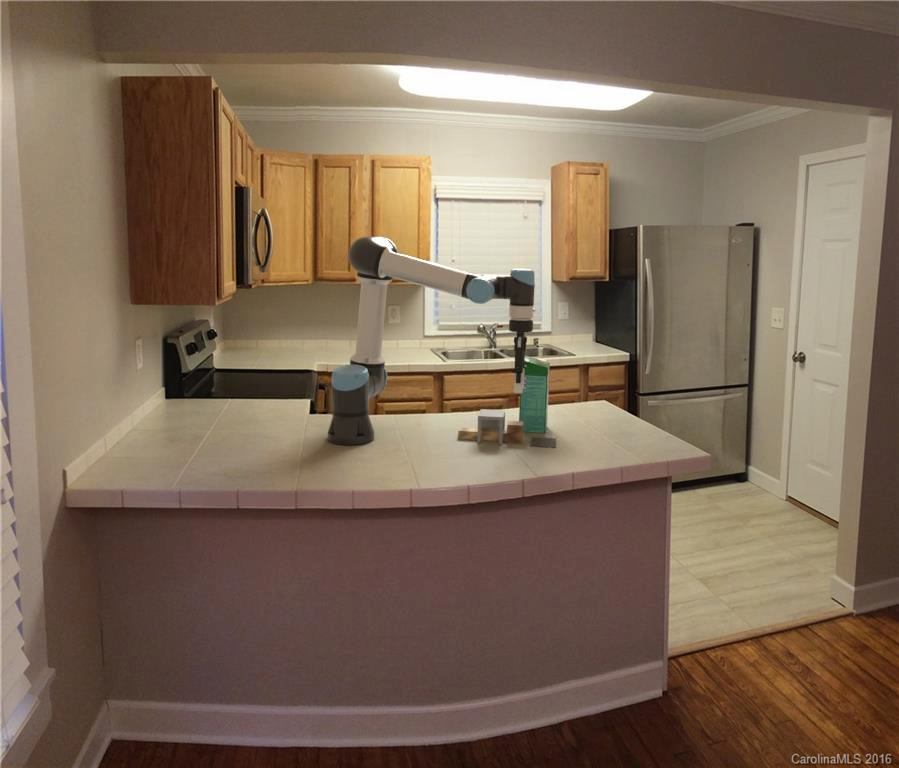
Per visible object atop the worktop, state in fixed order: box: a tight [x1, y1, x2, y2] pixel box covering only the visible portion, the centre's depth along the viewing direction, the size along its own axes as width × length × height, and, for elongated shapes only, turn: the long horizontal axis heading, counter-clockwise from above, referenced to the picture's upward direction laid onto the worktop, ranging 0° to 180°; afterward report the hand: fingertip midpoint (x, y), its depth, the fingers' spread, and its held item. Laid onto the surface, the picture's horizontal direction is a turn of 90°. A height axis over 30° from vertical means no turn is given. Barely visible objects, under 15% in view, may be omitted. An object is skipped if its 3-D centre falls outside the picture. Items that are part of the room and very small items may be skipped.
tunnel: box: [476, 408, 506, 445], centre depth 234 cm, size 8×9×9 cm
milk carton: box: [518, 355, 551, 434], centre depth 246 cm, size 9×9×25 cm
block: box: [506, 420, 524, 444], centre depth 234 cm, size 5×5×6 cm
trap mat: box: [529, 436, 557, 449], centre depth 232 cm, size 8×10×1 cm
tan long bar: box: [457, 427, 507, 442], centre depth 236 cm, size 16×4×3 cm, turn 81°
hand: (518, 390), depth 230 cm, fingers open, 7 cm apart
